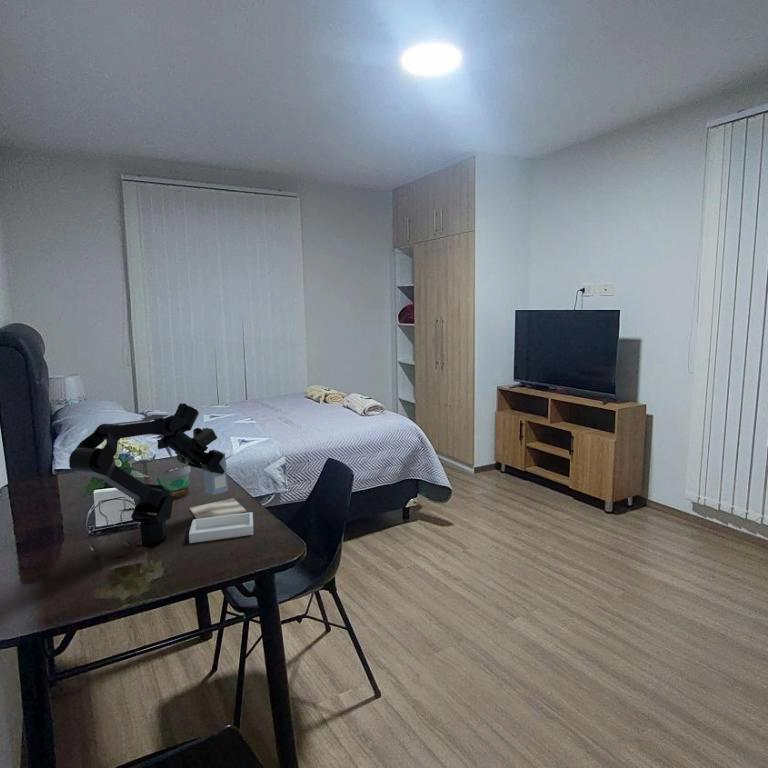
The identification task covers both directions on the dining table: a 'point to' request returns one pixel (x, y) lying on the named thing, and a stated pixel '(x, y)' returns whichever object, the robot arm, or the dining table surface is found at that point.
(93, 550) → the dining table surface
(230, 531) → the tray
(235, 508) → the board
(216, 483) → the carton
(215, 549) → the dining table surface
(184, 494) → the food container
